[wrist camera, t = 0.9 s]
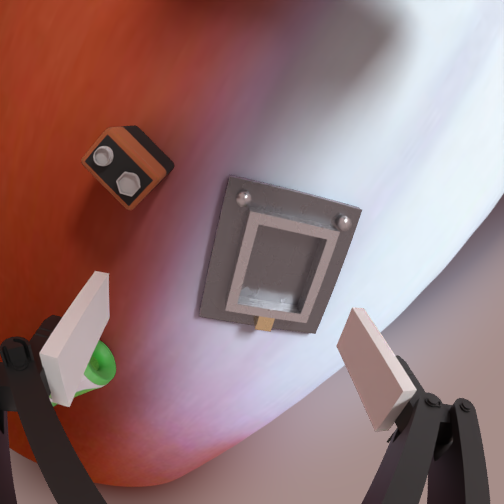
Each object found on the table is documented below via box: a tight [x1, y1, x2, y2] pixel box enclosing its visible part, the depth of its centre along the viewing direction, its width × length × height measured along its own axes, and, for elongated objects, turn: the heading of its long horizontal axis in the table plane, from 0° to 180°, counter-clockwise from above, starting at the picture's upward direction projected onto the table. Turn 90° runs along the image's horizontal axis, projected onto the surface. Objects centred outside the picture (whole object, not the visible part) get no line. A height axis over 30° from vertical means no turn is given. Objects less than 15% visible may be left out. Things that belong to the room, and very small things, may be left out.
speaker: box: [49, 340, 116, 407], centre depth 40 cm, size 18×7×8 cm, turn 119°
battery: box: [81, 126, 174, 210], centre depth 29 cm, size 4×7×10 cm, turn 42°
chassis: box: [199, 175, 362, 334], centre depth 38 cm, size 18×16×3 cm
